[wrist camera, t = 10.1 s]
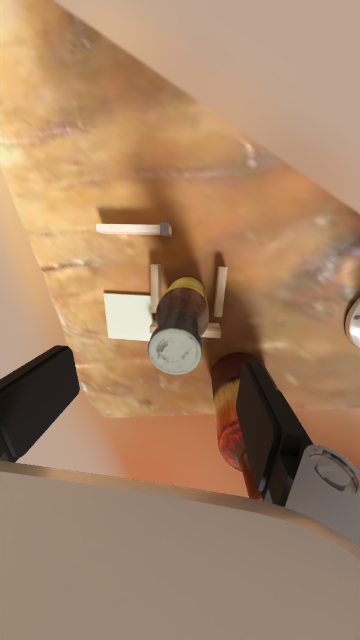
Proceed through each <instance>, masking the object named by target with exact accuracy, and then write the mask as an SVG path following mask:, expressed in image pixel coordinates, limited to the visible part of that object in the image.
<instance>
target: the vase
mask: <svg viewBox="0 0 360 640" xmlns="http://www.w3.org/2000/svg"><path fill="white" fill-rule="evenodd" d="M247 361H259V362H260V363H261V364H262V366H263V368H264V369H265V371H266V373H267V374H268V376H269V378H270V379H271V381H272V383H273V384H274V386H275V388H276V389H277V390H279V389H278V387H277V386H276V384H275V382H274V381H273V379H272V378H271V376H270V374H269V373H268V371H267V369H266V368H265V366H264V364H263V363H262V362H261V361H260V360H259V359H258V358H257V357H255V356H253V355H251V354H248V353H241V352H239V353H231V354H228V355H226V356H224V357H222V358H221V359H219V360H218V361H217V362H216V364H215V365H214V367H213V370H212V375H211V376H212V389H213V400H214V410H215V420H216V431H217V440H218V447H219V451H220V453H221V455H222V456H223V458H224V459H225V461H226V462H227V463H229V465H231V466H232V467H233V468H235V469H237V470H238V471H241V472H242V473H243V477H244V481H245V484H246V488H247V492H248V496H249V498H251V499H255V500H260V501H263V499H262V496H261V492H260V491H257V490H256V488H255V485H254V482H253V478H252V474H251V469H250V465H249V461H248V457H247V453H246V449H245V445H244V441H243V437H242V433H241V429H240V425H239V421H238V417H237V413H236V400H237V394H238V388H239V383H240V377H241V372H242V366H243V363H247Z"/></svg>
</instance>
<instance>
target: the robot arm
mask: <svg viewBox="0 0 360 640" xmlns="http://www.w3.org/2000/svg"><path fill="white" fill-rule="evenodd" d="M345 330H346V334H347V337H348V338H349V340H350V341H351V342H352V343H353V344H354V345H355V346H357V347H358V348H360V297H359V298H358V300H357V301H356V302H355V303H354V304H353V306H352V307H351V309H350V310H349V313H348V315H347V318H346V323H345ZM79 390H80V387H79V382H78V377H77V372H76V367H75V362H74V357H73V352H72V350H71V349H70V348H69V347H68V346H60V345H57V346H54V347H53V348H51V349H49V350H48V351H46V352H44V353H43V354H41V355H39V356H38V357H36V358H35V359H33V360H31V361H30V362H28V363H26V364H25V365H23V366H21V367H20V368H18V369H17V370H15V371H13V372H12V373H10V374H8V375H7V376H5V377H3V378H2V379H0V640H360V473H359V471H358V470H357V469H356V468H355V467H354V465H352V464H351V463H350V462H349V461H348V460H347V459H346V458H345V457H343V456H342V455H340V454H339V453H337V452H336V451H334V450H332V449H330V448H328V447H324V446H321V445H314V444H313V443H312V441H311V440H310V438H309V436H308V435H307V433H306V431H305V430H304V428H303V427H302V425H301V423H300V422H299V420H298V418H297V417H296V415H295V414H294V412H293V410H292V409H291V407H290V406H289V404H288V402H287V401H286V399H285V397H284V396H283V394H282V393H281V392H280V391H279V390H277V389H276V388H275V386H274V384H273V383H272V381H271V379H270V378H269V376H268V374H267V373H266V371H265V369H264V368H263V366H262V364H261V363H260V362H259V361H247V363H243V366H242V372H241V377H240V383H239V388H238V394H237V400H236V413H237V417H238V421H239V425H240V429H241V433H242V437H243V441H244V445H245V449H246V453H247V457H248V461H249V465H250V469H251V474H252V478H253V482H254V485H255V488H256V490H257V491H260V492H261V496H262V499H263V501H260V500H255V499H251V498H246V497H241V496H235V495H229V494H223V493H217V492H212V491H206V490H199V489H194V488H187V487H180V486H174V485H167V484H159V483H153V482H146V481H139V480H133V479H126V478H120V477H112V476H106V475H99V474H92V473H85V472H78V471H70V470H63V469H56V468H49V467H42V466H35V465H27V464H20V463H15V462H16V461H17V460H18V459H19V458H20V457H22V456H23V455H24V454H26V453H27V451H28V450H29V449H30V448H31V447H32V446H33V445H34V443H35V442H36V441H37V440H38V439H39V438H40V436H42V434H43V433H44V432H45V431H46V430H47V429H48V428H49V427H50V425H51V424H52V423H53V422H54V421H55V420H56V419H57V417H58V416H59V415H60V414H61V413H62V412H63V411H64V410H65V408H66V407H67V406H68V405H69V404H70V403H71V402H72V401H73V399H74V398H75V397H76V396H77V395H78V393H79Z"/></svg>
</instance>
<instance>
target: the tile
mask: <svg viewBox="0 0 360 640" xmlns="http://www.w3.org/2000/svg"><path fill="white" fill-rule="evenodd" d="M104 302H105V311H106V319H107V328H108V337H109V338H116V339H129V340H141V341H150V338H151V335H152V333H150V325H151V324H152V323H153V313H152V309H151V295H134V294H115V293H104Z"/></svg>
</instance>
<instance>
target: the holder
mask: <svg viewBox="0 0 360 640" xmlns="http://www.w3.org/2000/svg"><path fill="white" fill-rule="evenodd" d="M150 267H151V309H152V313H156V309H157V306H158V303H159V301H160V300H161V264H150ZM227 268H228V267H222V266H218V272H217V282H216V292H215V302H214V312H213V313H214V317H222V311H223V302H224V294H225V285H226V277H227ZM157 327H158V325H157V322H156V319H155V320H154V321H153V323H152V324H151V325H150V333H153V332H154V330H155V329H156V328H157ZM201 337H209V338H221V328H220V325H219V323H209V322H208V327H207V329H206V331H205V333H204V334H203V335H202V336H201Z"/></svg>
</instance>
